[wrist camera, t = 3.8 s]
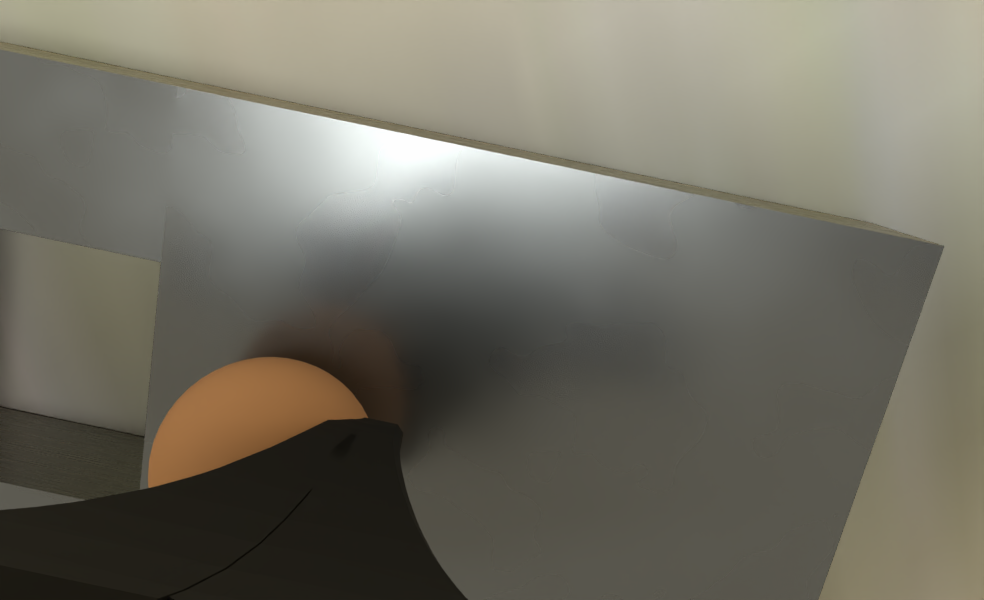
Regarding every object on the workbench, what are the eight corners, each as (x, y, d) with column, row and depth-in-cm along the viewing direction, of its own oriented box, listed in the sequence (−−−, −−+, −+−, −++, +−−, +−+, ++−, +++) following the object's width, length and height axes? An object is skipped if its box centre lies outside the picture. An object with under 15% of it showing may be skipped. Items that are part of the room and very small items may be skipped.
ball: (425, 413, 10) (163, 416, 8) (386, 616, 11) (142, 651, 9) (359, 330, 13) (153, 322, 11) (333, 497, 13) (137, 509, 12)
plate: (871, 223, 14) (944, 246, 11) (721, 677, 16) (755, 776, 14) (-94, 22, 14) (-228, 2, 11) (-97, 504, 16) (-208, 573, 14)
